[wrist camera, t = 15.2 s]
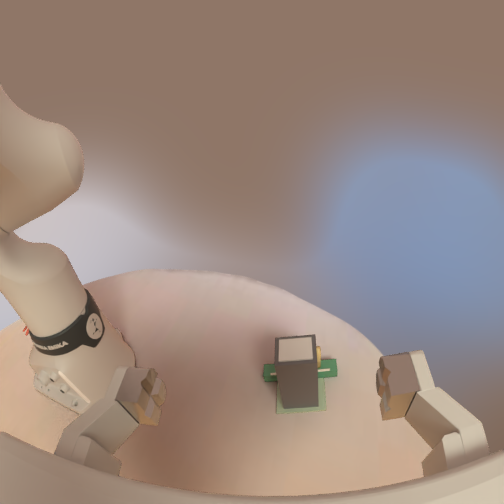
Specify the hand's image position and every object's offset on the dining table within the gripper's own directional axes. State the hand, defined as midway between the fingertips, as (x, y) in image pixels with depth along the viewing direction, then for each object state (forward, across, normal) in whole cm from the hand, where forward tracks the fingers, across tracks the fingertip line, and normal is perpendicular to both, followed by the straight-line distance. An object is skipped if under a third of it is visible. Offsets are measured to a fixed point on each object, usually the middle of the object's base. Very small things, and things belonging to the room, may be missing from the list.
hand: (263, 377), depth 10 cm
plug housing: (+15, 0, +28) cm, 32 cm away
